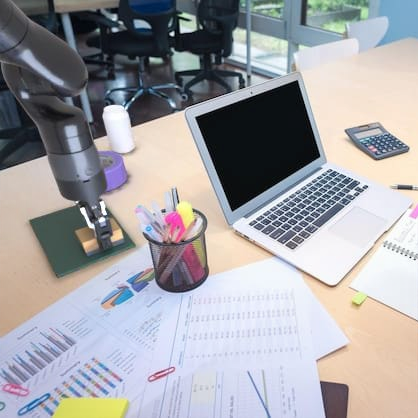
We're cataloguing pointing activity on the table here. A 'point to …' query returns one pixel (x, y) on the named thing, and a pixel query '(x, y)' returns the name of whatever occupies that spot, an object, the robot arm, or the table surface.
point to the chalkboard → (70, 240)
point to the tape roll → (113, 169)
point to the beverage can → (118, 129)
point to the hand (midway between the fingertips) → (102, 241)
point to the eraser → (90, 241)
